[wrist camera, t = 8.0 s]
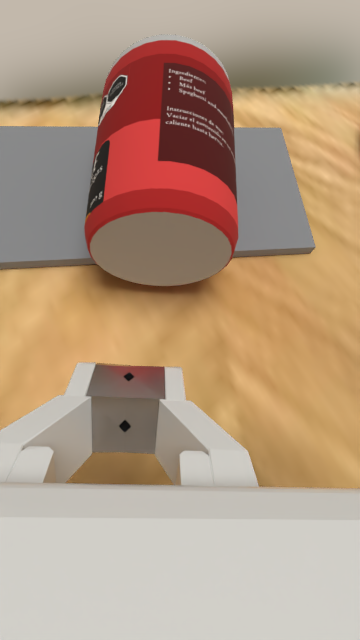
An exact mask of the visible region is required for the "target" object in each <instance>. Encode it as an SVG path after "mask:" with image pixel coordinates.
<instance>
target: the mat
mask: <svg viewBox="0 0 360 640" xmlns="http://www.w3.org/2000/svg"><path fill="white" fill-rule="evenodd" d="M97 130H98V127H25V126H0V269H13V268H32V267H52V266H71V265H91V264H96V263H95V261H94V260H93V259H92V258H91V256H90V254H89V251H88V248H87V244H86V239H85V228H84V226H85V219H86V211H87V204H88V197H89V189H90V182H91V175H92V167H93V160H94V152H95V145H96V138H97ZM234 139H235V163H236V187H237V210H238V241H237V244H236V247H235V251H234V254H233V256H232V257H246V256H266V255H285V254H305V253H311V252H312V251H313V249H314V248H315V243H314V240H313V236H312V233H311V230H310V226H309V223H308V219H307V216H306V212H305V209H304V206H303V202H302V199H301V195H300V192H299V188H298V185H297V181H296V178H295V175H294V171H293V168H292V164H291V161H290V157H289V154H288V151H287V147H286V144H285V140H284V137H283V133H282V130H281V128H234Z"/></svg>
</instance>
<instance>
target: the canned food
mask: <svg viewBox="0 0 360 640" xmlns="http://www.w3.org/2000/svg"><path fill="white" fill-rule="evenodd" d="M84 228H85V239H86V244H87V248H88V251H89V254H90V256H91V258H92V259H93V260H94V261H95V263H96V264H98V265H99V266H100V267H101V268H102V269H104V270H105V271H107V272H108V273H110V274H112V275H114V276H116V277H118V278H121V279H123V280H127V281H130V282H133V283H139V284H144V285H153V286H175V285H184V284H190V283H194V282H197V281H201V280H203V279H206V278H209V277H211V276H212V275H214V274H216V273H218V272H219V271H221V270H222V269H223V268H224V267H225V266H227V264H228V263H229V262H230V260H231V259H232V256H233V254H234V251H235V247H236V244H237V241H238V210H237V187H236V163H235V139H234V115H233V102H232V91H231V86H230V82H229V78H228V75H227V73H226V71H225V68H224V66H223V64H222V63H221V62H220V60H219V59H218V58H217V57H216V55H215V54H214V53H213V52H212V51H210V50H209V49H208V48H206V47H205V46H204V45H203V44H201V43H199V42H197V41H195V40H192V39H191V38H187V37H182V36H178V35H156V36H152V37H147V38H145V39H142V40H140V41H138V42H136V43H134V44H132V45H131V46H130V47H128V48H127V49H126V50H124V51H123V52H122V53H121V54H120V56H119V57H118V58H117V59H116V61H115V62H114V63H113V65H112V67H111V69H110V71H109V73H108V77H107V79H106V83H105V87H104V91H103V97H102V103H101V108H100V116H99V123H98V130H97V138H96V145H95V152H94V160H93V167H92V175H91V182H90V189H89V197H88V204H87V211H86V219H85V226H84Z"/></svg>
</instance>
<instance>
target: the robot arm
mask: <svg viewBox="0 0 360 640" xmlns="http://www.w3.org/2000/svg"><path fill="white" fill-rule="evenodd" d="M92 452H129V453H147V454H155V456H156V458H157V460H158V461H159V463H160V464H161V466H162V467H163V469H164V470H165V472H166V473H167V475H168V476H169V478H170V480H171V481H172V483H173V484H174V485H136V484H76V483H66V482H67V480H68V479H69V478H70V477H71V476H72V475H73V474H74V473H75V472H76V471H77V470H78V469H79V468H80V466H81V465H82V464H83V463H84V462H85V461H86V460H87V459H88V458H89V457H90V456H91V455H92ZM0 640H360V488H303V487H259V485H258V482H257V479H256V475H255V472H254V469H253V466H252V463H251V459H250V456H249V453H248V451H247V450H246V449H245V448H244V447H243V446H241V445H240V444H239V443H238V442H237V441H236V440H235V439H233V438H232V437H231V436H230V435H229V434H228V433H227V432H226V431H224V430H223V429H222V428H221V427H220V426H219V425H218V424H217V423H215V422H214V421H213V420H212V419H211V418H210V417H209V416H207V415H206V414H205V413H204V412H203V411H202V410H201V409H200V408H198V407H197V406H196V405H195V404H194V403H193V402H192V401H186V397H185V388H184V380H183V372H182V368H181V367H154V366H131V365H118V364H104V363H97V364H96V363H90V362H79V363H77V365H76V367H75V370H74V372H73V374H72V377H71V379H70V382H69V384H68V386H67V389H66V391H65V394H64V395H58V396H57V397H55V398H53V399H52V400H50V401H48V402H47V403H45V404H43V405H42V406H40V407H38V408H37V409H35V410H33V411H32V412H30V413H28V414H27V415H25V416H23V417H22V418H20V419H19V420H17V421H15V422H14V423H12V424H10V425H9V426H7V427H5V428H4V429H2V430H0Z"/></svg>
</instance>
